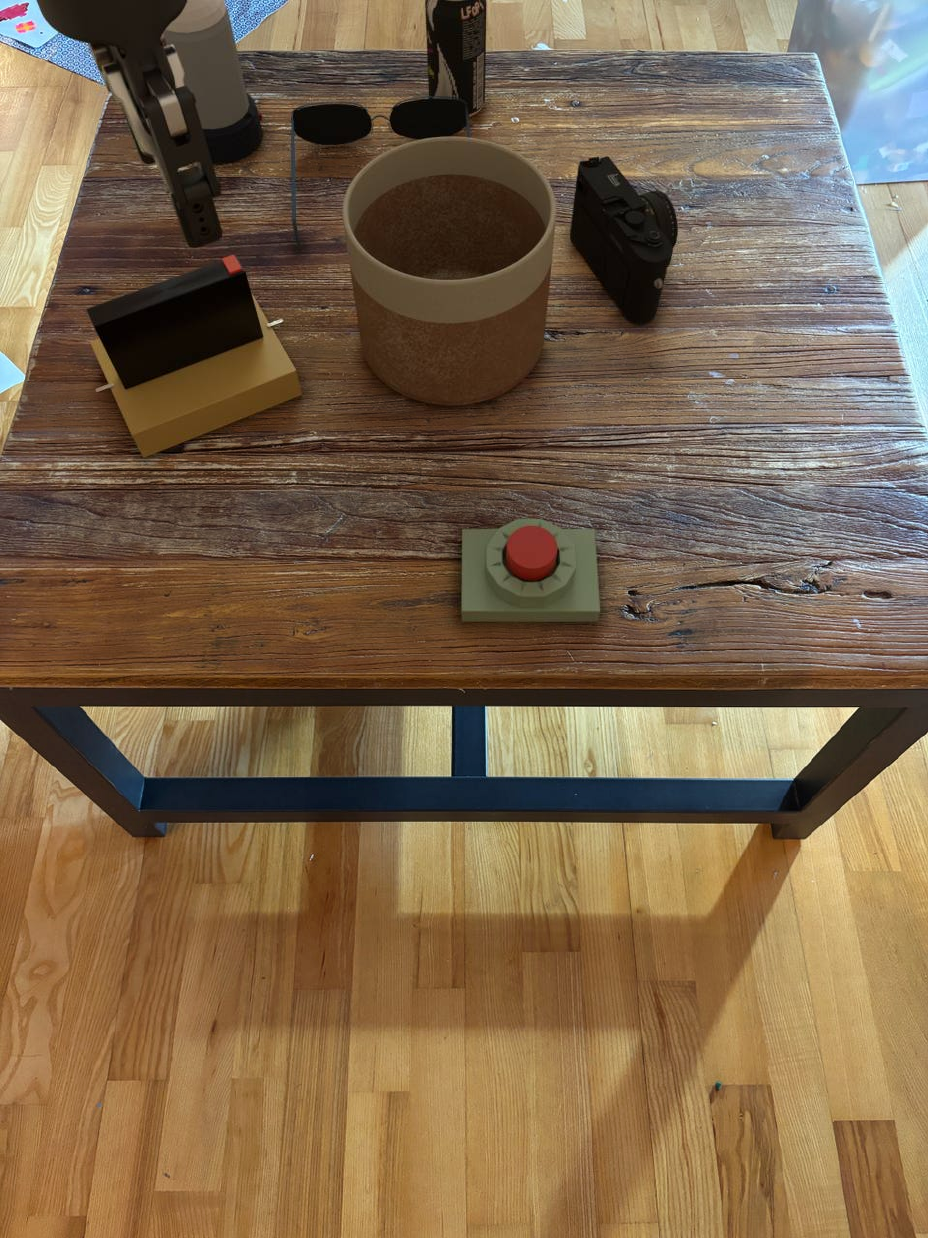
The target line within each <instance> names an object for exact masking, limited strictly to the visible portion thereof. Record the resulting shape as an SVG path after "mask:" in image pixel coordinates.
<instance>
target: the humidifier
mask: <svg viewBox="0 0 928 1238" xmlns="http://www.w3.org/2000/svg"><path fill="white" fill-rule="evenodd" d="M163 33H164V36H165V40H166V46H167V45H171V44H173V45H174V47H175V49H176V51H177V54H178V56H179V59H180V61H181V64H182V67H183V69H184V73H185V76H184V85H187V86H188V87H189V89H190V91H191V92H193V94H194V96H195V99H196V103H195V105H196V108H197V112H198V115H199V119H200V122H201V126H202V129H203V132H204V136H205V139H206V143H207V146H208V149H209V153H210V156H211V160H212V163H213V165H226V164H232V163H236V162H238V161H241V160H244V159H246V158H248V157H249V156H251V155H252V154H253V153H254V152H256V151H257V149H258V148H259V147H260V145H261V144H262V141H263V138H264V132H263V128H262V124H261V121H263V114H262V113H261V111H259V109H258V106H257V105H256V102H255V100H254V98H253V97H252V96H251V95H250V94H249V92H247V87H246V84H245V80H244V75H243V70H242V66H241V62H240V58H239V54H238V48H237V45H236V39H235V36H234V31H233V27H232V22H231V18H230V14H229V9H228V8H227V4H226V1H225V0H187V3H186V6H185V8H184V9H183V11H182V12H181V14H180V15H179V16H178V17H177V18H176V19H175V20H174V21H172V22H171V24H170V25H169V26H168V27H167V28H166V29H165V31H164V32H163Z"/></svg>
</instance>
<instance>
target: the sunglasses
mask: <svg viewBox="0 0 928 1238" xmlns="http://www.w3.org/2000/svg"><path fill="white" fill-rule="evenodd" d="M431 97H442V98H452V99H442V98H434V99H429V98H431ZM453 99H456V100H453ZM458 100H459V101H458ZM465 104H467V103H466V102H465V101H463V100H461V99H459V98H455V97H447V96H429V95H428V96H419V97H411V98H407V99H403V100H400V101H398V102H397V103H396V104H394V105H393V106H392V108H391V109H390V111H391V112H390V111H389V112H390V113H389V118H388V117H387V116H385V115H383V114H377V115H375V116H374V117H371V114H370V111H369V110H368V109H367V108H366V107H364V106H363V105H361V104H359V103H357V102H352V101H351V102H349V101H319V102H313V103H307V104H303V105H300V106H298V107H296V108H294V109H293V110H292V111H291V112H290V114H291V116H290V125H291V126H290V177H291V178H290V180H291V182H290V183H291V184H290V185H291V187H290V188H291V223H292V229H293V235H294V238H295V243H296V248H297V250H300V248H301V246H300V239H299V232H298V225H297V204H296V203H297V199H296V198H297V197H296V196H297V195H296V193H297V192H296V191H297V189H296V147H295V146H296V145H295V135H296V137H299V138H300V139H302V140H304V141H305V142H309V143H311V144H315V145H320V146H340V145H346V144H349V143H354V142H357V141H359V140H362V139H364V138H365V137H367V136H369V135H370V133H371V135H372V134H373V131H374V126H375V123H374V122H373V121H374V120H375V119H377V118H384V119H385V120H387V125H388V128H389V131H390V133H391V134H392V133H395V134H396V135H398V136H401V137H403V138H407V139H411V140H422V139H427V138H435V137H453V136H455V135H456V134H458V133H460V132H461V131H462V130H464V128H466V137H467V138H472V134H471V127H470V119H469V118H470V117H469V109H468V107H467V106H466V105H465Z"/></svg>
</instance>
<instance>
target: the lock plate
mask: <svg viewBox="0 0 928 1238" xmlns="http://www.w3.org/2000/svg"><path fill="white" fill-rule="evenodd" d="M252 296H253V300H254V304H255V307H256V311H257V314H258V318H259V322H260V325H261V329H262V332H263V338H260V339H258V340H255V341H253V342H250V343H247V344H245V345H242V346H239V347H237V348H234V349H232V350H229V351H226V352H224V353H221V354H218V355H216V356H213V357H211V358H208V359H205V360H203V361H200V362H197V363H195V364H192V365H189V366H187V367H184V368H182V369H179V370H176V371H174V372H171V373H168V374H166V375H163V376H161V377H158V378H155V379H153V380H150V381H147V382H145V383H142V384H140V385H137V386H134V387H132V388H129V389H125V388H124V386H123V384H122V382H121V380H120V378H119V376H118V374H117V372H116V370H115V368H114V366H113V364H112V362H111V360H110V358H109V356H108V354H107V352H106V350H105V348H104V346H103V344H102V342H101V340H100V338H99V337H98V338H97V339H93V340H90V341H89V344H90V346H91V348H92V351H93V352H94V353H93V354H94V355H95V357H96V359H97V361H98V364H99V366H100V368H101V371H102V373H103V375H104V377H105V379H106V381H107V384H105V385H103V386H99V387H97V388H95V393H96V394H100V393H102V392H105V391H107V390H111V393H112V395H113V397H114V400H115V401H116V404H117V406H118V408H119V411H120V413H121V415H122V417H123V419H124V421H125V424H126V426H127V428H128V430H129V433H130V435H131V437H132V439H133V441H134V443H135V444H136V447H137V448H138V450H139V452H140V454H141V456H142V458H143V459H144V458H147V457H149V456H150V457H151V456H152V455H155V454H157V453H160V452H162V451H165V450H167V449H171V448H173V447H175V446H177V445H180V444H183V443H185V442H188V441H190V440H193V439H195V438H197V437H200V436H202V435H205V434H208V433H210V432H212V431H216V430H218V429H220V428H223V427H225V426H228V425H230V424H232V423H235V422H237V421H241V420H242V419H245V418H247V417H250V416H254V415H255V414H258V413H260V412H262V411H266V410H268V409H270V408H273V407H276V406H278V405H280V404H283V403H286V402H288V401H290V400H293V399H295V398H298V397H300V396H302V395H303V392H302V388H301V383H300V380H299V379H300V378H299V376H298V372H297V369H296V368H295V366H294V364H293V362H292V360H291V358H290V357H289V355H288V353H287V351H286V350H285V348H284V347H283V344H282V343H281V341H280V339H279V337H278V336H277V334H276V332H275V331H274V329H273V328H275V327H276V326H278V325H281V324H284V320H283V318H279V319H277V320H274V321H271V322H269V320H268V318H267V317H266V315H265V313H264V312H263V310H262V308H261V306H260V304H259V303H258V301H257V300H256V297H255V295H254V294H253V293H252Z"/></svg>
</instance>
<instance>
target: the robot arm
mask: <svg viewBox="0 0 928 1238" xmlns="http://www.w3.org/2000/svg"><path fill="white" fill-rule="evenodd" d="M35 2H36V4H37V5H38V8H39V10H40V13H41V15H42V17H43V18H44V20H45V21H46V23H47V24H48V25H49V26H50V27H51V28H52V29H53V30H55V31H56V32H57V33H58V34H60V35H62V36H64V37H66V38H69V39H71V40H74V41H77V42H81V43H85V44H87V47H88V49H89V51H90V54H91V56H92V58H93V60H94V63H95V65H96V67H97V69H98V71H99V74H100V76H101V78H102V81H103V84H104V85H105V87H106V89H107V91H108V92H109V93H110V94H111V95H112V97H113V100H116V102H117V104H118V105H119V106H121V109H122V112H123V115H124V118H125V121H126V123H127V126H128V129H129V132H130V135H131V138H132V140H133V143H134V146H135V149H136V152H137V154H138V156H139V159H140V160H141V161H142V163H143V164H145V165H153V164H156V167H157V169H158V172H159V174H160V177H161V179H162V181H163V184H162V187H163V189H164V191H165V194H166V195H167V194H168V195H169V197H170V201H171V203H172V206H173V209H174V212H175V215H176V218H177V221H178V224H179V227H180V229H181V233H182V235H183V238H184V240H185V242H186V243H187V245H188V247H190V248H191V249H197V248H201V247H204V246H206V245H209V244H212V243H214V242H217V241H219V240H220V239H221V238H222V237H223V229H222V225H221V222H220V219H219V216H218V212H217V209H216V205H215V201H214V199H215V198H218V197H220V196H222V191H221V189H222V185H221V182H220V180H219V178H218V177H217V174H216V170H215V167H214V164H213V163H212V160H211V156H210V153H209V149H208V146H207V143H206V139H205V136H204V132H203V129H202V126H201V122H200V119H199V115H198V112H197V108H196V105H195V103H196V99H195V96H194V94H193V92H191V91H190V89H189V87H188V86H187V85H184V76H185V73H184V69H183V67H182V64H181V61H180V59H179V56H178V54H177V51H176V49H175V47H174V45H173V44H171V45H167V46H166V40H165V36H164V33H163V32H164V31H165V29H166V28H167V27H168V26H169V25H170V24H171V22H172V21H174V20H175V19H176V18H177V17H178V16H179V15H180V14H181V12H182V11H183V9H184V8H185V6H186V3H187V0H35ZM192 164H193V165H194V166H191V167H188V168H185V169H182V170H179V169H180V168H183V167H186V166H190V165H192Z"/></svg>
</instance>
